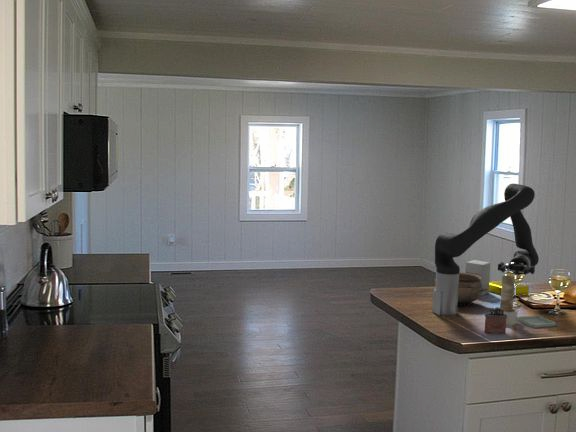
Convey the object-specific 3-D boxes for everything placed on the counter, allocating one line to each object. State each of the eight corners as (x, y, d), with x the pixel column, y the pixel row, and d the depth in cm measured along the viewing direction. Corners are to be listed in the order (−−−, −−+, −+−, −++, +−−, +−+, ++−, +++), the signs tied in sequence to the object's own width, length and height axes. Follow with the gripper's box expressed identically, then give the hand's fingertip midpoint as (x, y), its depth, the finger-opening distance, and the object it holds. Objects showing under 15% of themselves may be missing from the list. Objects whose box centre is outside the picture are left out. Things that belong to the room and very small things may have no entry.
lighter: (503, 333, 240) (505, 306, 239) (507, 335, 237) (509, 309, 235) (482, 332, 240) (484, 306, 239) (485, 335, 236) (487, 308, 235)
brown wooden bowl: (423, 301, 285) (424, 274, 283) (443, 294, 299) (445, 269, 297) (476, 312, 268) (477, 284, 267) (495, 305, 282) (497, 277, 281)
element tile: (483, 290, 311) (484, 281, 311) (506, 288, 318) (507, 278, 317) (506, 297, 298) (507, 287, 297) (530, 295, 305) (530, 285, 304)
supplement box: (471, 290, 310) (473, 259, 309) (489, 293, 305) (491, 262, 303) (463, 293, 303) (465, 261, 302) (481, 296, 298) (483, 264, 296)
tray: (532, 329, 246) (533, 324, 246) (514, 321, 256) (515, 316, 256) (556, 327, 249) (557, 323, 249) (538, 320, 259) (538, 315, 259)
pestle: (503, 323, 250) (507, 278, 248) (496, 320, 255) (499, 275, 253) (514, 323, 252) (517, 278, 250) (506, 319, 256) (509, 275, 254)
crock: (502, 326, 248) (503, 312, 248) (490, 321, 256) (491, 307, 255) (520, 325, 251) (521, 311, 250) (507, 319, 258) (508, 306, 258)
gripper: (503, 254, 278) (496, 260, 264) (538, 257, 271) (532, 263, 257) (502, 271, 279) (495, 278, 265) (537, 274, 272) (531, 282, 258)
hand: (513, 271), depth 261 cm, fingers open, 8 cm apart
